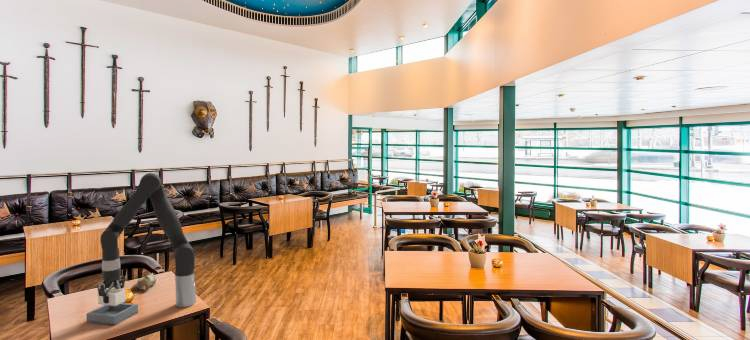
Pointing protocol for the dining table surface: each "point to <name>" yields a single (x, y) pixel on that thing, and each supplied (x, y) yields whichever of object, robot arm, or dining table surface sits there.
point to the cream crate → (114, 297)
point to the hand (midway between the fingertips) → (112, 300)
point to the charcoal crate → (112, 314)
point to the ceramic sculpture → (145, 282)
